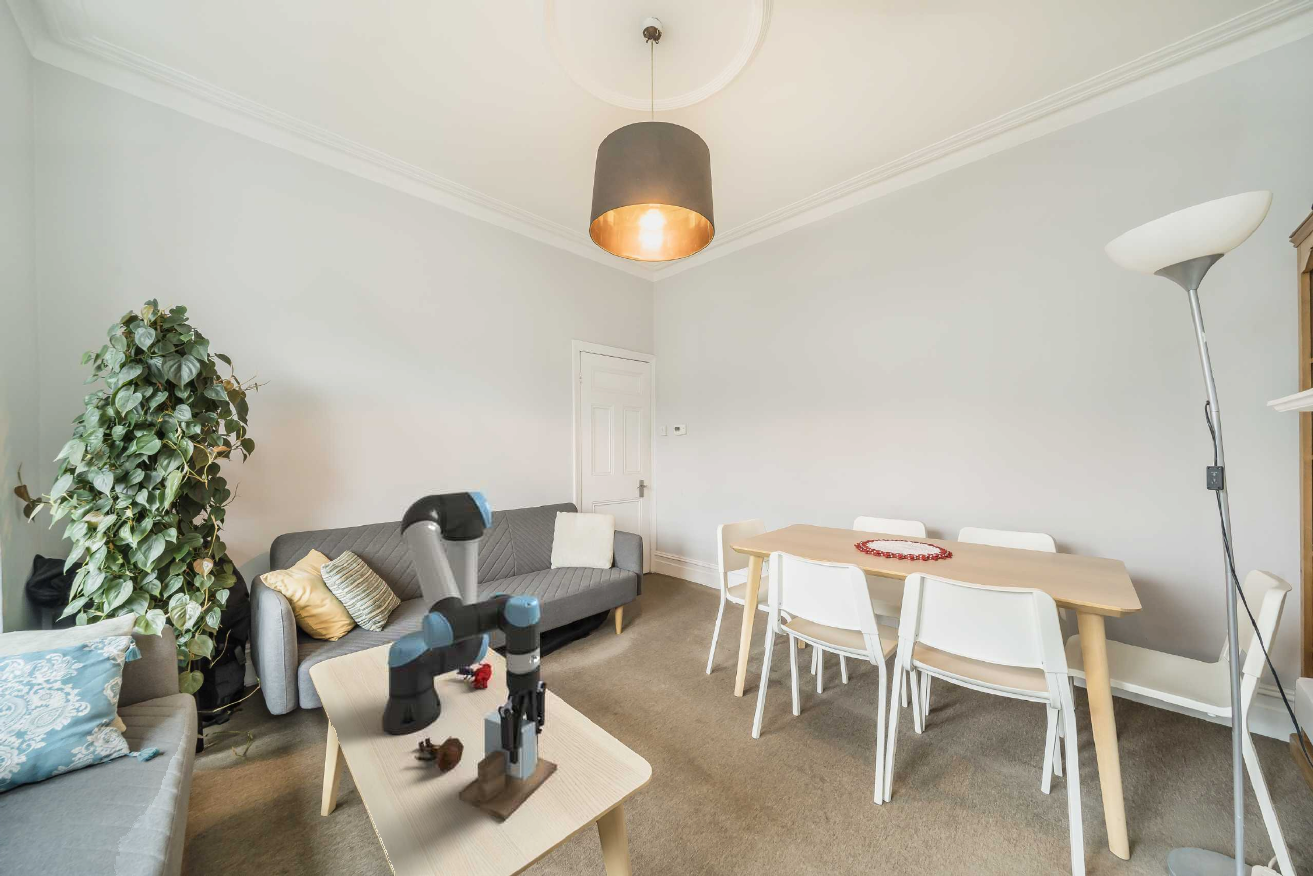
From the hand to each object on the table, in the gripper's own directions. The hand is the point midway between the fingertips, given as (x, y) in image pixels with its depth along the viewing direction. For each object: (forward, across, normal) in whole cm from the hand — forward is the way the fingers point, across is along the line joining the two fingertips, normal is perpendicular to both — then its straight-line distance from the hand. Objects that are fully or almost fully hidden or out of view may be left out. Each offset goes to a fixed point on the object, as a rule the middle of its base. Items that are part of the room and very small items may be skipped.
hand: (524, 768), depth 107 cm
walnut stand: (+5, 0, +5) cm, 7 cm away
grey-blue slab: (+1, 0, +4) cm, 5 cm away
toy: (+5, -2, +27) cm, 28 cm away
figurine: (+5, +27, +48) cm, 56 cm away
